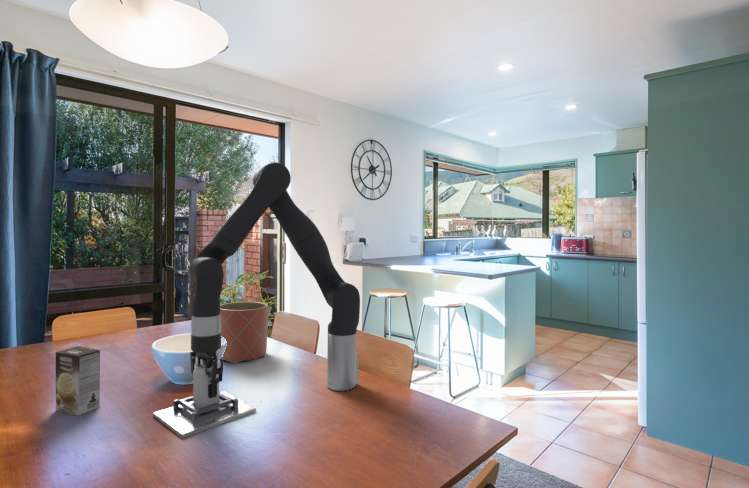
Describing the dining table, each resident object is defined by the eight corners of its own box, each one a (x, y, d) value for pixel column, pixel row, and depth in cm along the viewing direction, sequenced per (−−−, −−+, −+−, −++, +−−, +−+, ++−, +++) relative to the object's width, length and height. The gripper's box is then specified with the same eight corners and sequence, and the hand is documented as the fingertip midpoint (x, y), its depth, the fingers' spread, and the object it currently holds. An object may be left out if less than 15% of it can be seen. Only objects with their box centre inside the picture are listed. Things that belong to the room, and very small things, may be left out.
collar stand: (224, 394, 123) (224, 381, 123) (256, 411, 112) (256, 397, 112) (153, 416, 108) (153, 402, 108) (182, 438, 97) (182, 422, 97)
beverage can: (210, 415, 107) (210, 369, 106) (188, 412, 108) (187, 367, 107) (223, 405, 113) (223, 361, 112) (202, 403, 114) (202, 360, 114)
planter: (252, 346, 174) (252, 299, 174) (277, 356, 161) (277, 306, 161) (208, 356, 161) (208, 305, 160) (231, 367, 147) (231, 312, 147)
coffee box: (54, 411, 111) (53, 351, 110) (78, 401, 117) (77, 345, 116) (78, 416, 108) (77, 355, 107) (101, 406, 114) (101, 349, 113)
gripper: (233, 333, 108) (233, 397, 108) (206, 325, 117) (206, 383, 118) (205, 339, 102) (205, 405, 103) (180, 329, 112) (180, 390, 112)
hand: (206, 393), depth 110 cm, fingers closed on beverage can, 6 cm apart
